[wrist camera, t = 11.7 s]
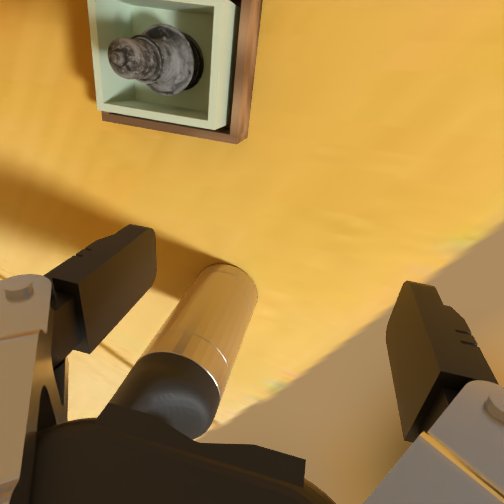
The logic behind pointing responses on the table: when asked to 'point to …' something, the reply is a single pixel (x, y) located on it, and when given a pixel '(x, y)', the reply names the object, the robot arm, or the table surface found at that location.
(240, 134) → the box
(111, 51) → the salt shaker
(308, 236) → the table surface
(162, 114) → the green crate
